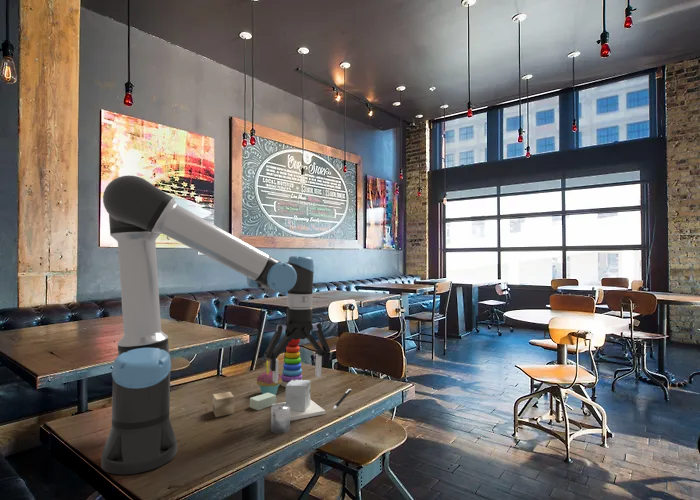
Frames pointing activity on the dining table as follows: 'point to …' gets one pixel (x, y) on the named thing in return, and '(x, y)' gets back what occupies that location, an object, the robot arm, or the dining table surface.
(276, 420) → the steel cylinder
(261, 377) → the cupcake
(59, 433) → the dining table surface
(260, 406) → the sage block
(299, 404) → the skincare box
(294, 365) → the stacking toy
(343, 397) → the pen
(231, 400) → the oak cube
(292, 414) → the cream pad
